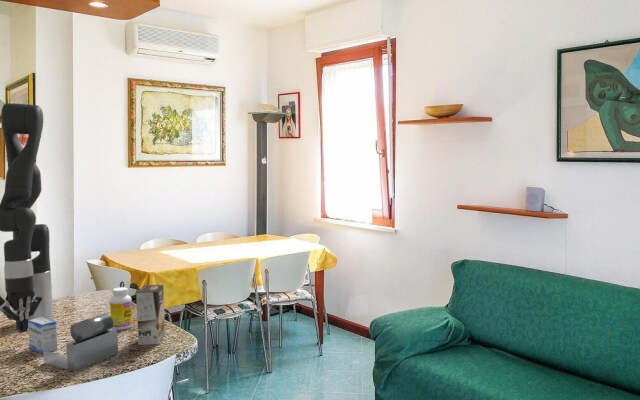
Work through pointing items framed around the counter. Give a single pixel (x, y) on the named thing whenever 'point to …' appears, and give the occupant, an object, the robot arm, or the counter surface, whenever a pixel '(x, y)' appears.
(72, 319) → the counter surface
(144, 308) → the coffee box
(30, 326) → the medicine box
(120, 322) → the supplement bottle
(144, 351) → the counter surface
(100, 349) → the motor dock
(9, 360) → the counter surface
